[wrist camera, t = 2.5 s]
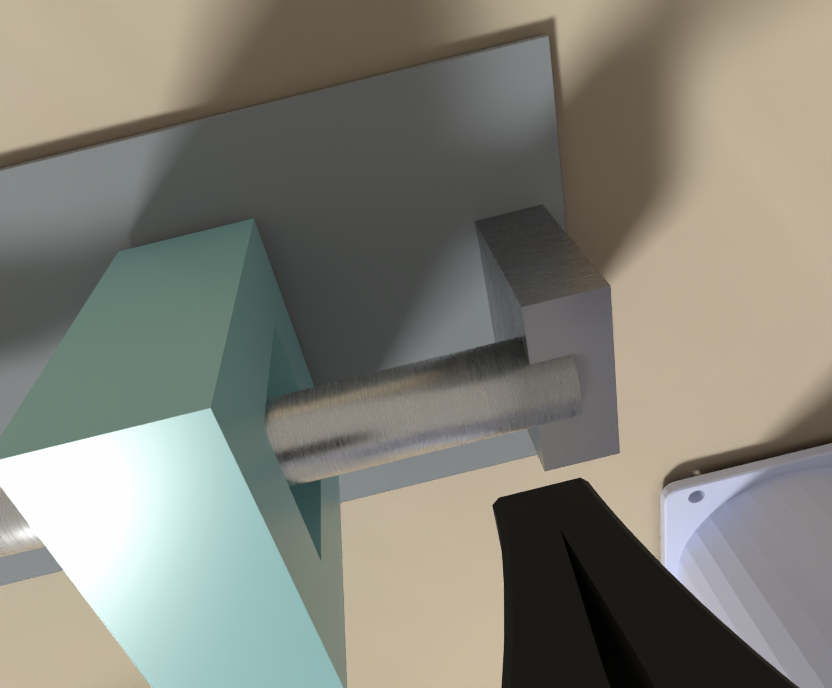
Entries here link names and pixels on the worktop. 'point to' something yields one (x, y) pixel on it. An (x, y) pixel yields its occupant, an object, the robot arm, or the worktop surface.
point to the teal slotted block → (185, 471)
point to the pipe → (463, 377)
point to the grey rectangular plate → (305, 225)
